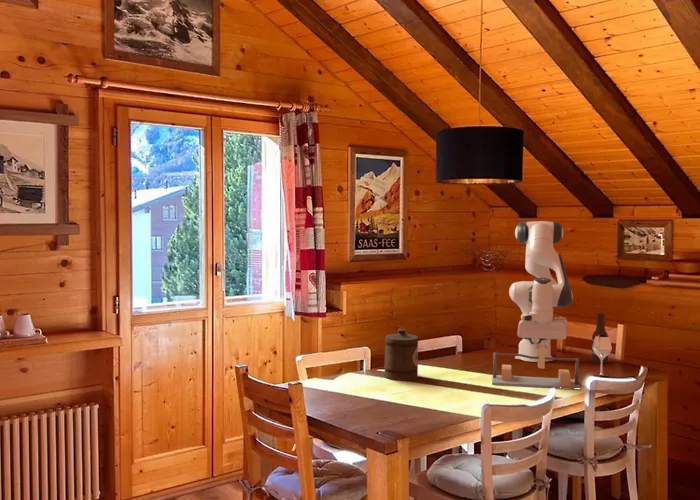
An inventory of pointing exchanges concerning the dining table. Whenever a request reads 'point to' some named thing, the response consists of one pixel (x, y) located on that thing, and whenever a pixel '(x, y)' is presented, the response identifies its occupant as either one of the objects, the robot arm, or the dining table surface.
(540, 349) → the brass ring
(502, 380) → the stand
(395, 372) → the wooden container
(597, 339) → the wineglass
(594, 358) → the beer bottle
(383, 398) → the dining table surface
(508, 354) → the rod
